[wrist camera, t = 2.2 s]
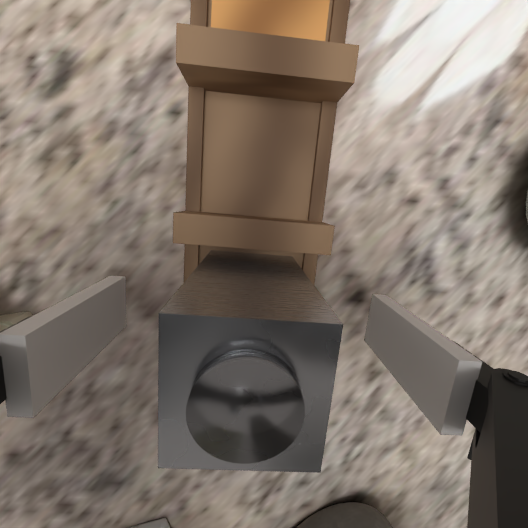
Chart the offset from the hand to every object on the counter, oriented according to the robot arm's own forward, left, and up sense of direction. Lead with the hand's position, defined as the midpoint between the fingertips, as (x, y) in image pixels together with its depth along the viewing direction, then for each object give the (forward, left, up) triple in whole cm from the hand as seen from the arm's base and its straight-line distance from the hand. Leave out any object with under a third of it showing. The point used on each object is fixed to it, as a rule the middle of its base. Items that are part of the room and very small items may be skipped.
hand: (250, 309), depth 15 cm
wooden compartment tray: (0, +8, -4) cm, 9 cm away
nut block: (0, 0, -3) cm, 3 cm away
